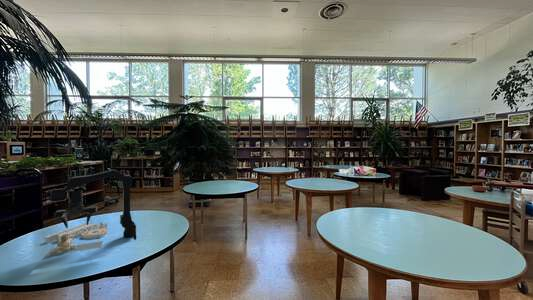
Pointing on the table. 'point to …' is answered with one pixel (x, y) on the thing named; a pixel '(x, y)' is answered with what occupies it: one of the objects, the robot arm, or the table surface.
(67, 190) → the robot arm
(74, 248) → the wall board
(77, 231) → the sign
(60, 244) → the cabinet block
